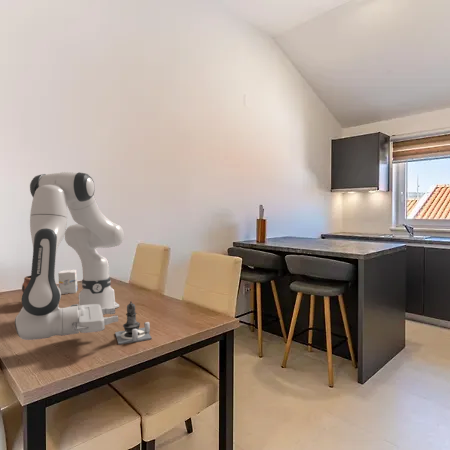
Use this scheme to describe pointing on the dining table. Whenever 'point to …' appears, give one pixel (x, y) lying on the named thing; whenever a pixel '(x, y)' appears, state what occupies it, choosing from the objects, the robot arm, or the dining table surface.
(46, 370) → the dining table surface
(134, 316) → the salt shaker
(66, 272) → the ink box
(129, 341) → the pin socket board
